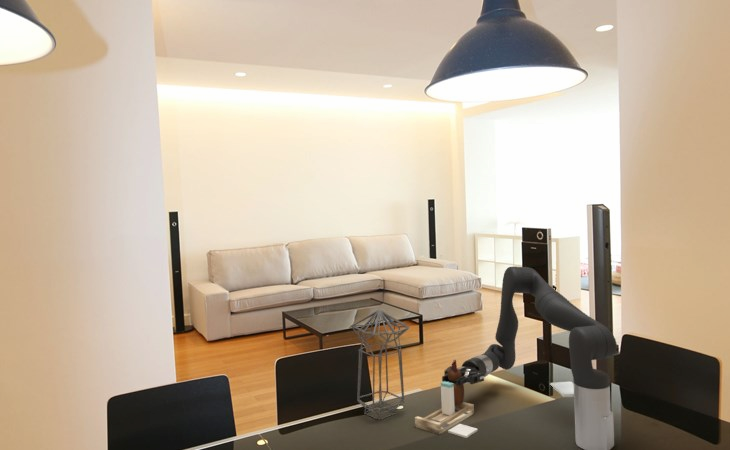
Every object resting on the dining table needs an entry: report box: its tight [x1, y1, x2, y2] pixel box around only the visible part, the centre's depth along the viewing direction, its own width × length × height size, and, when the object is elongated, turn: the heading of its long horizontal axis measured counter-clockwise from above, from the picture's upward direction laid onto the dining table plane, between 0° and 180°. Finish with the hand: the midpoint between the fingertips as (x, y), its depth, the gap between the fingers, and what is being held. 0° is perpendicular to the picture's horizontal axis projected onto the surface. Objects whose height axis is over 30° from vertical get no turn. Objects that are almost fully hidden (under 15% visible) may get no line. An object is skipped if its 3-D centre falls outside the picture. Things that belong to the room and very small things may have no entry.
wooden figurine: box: [447, 359, 465, 405], centre depth 170 cm, size 7×6×15 cm
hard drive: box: [549, 381, 574, 398], centre depth 187 cm, size 2×8×12 cm
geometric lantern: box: [348, 309, 410, 421], centre depth 172 cm, size 16×16×35 cm
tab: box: [440, 381, 455, 416], centre depth 167 cm, size 4×2×10 cm, turn 47°
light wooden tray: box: [414, 401, 475, 435], centre depth 165 cm, size 9×20×3 cm, turn 137°
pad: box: [447, 423, 478, 439], centre depth 156 cm, size 6×6×1 cm
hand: (450, 381), depth 168 cm, fingers closed on wooden figurine, 4 cm apart
